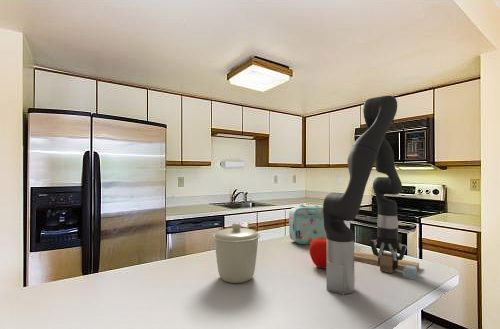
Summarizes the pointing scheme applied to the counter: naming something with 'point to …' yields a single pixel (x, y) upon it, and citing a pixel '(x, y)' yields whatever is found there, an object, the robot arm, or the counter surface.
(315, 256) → the tomato
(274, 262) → the counter surface
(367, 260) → the oak board
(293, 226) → the lunch box
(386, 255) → the walnut block
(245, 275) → the canister
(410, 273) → the slate stop block
